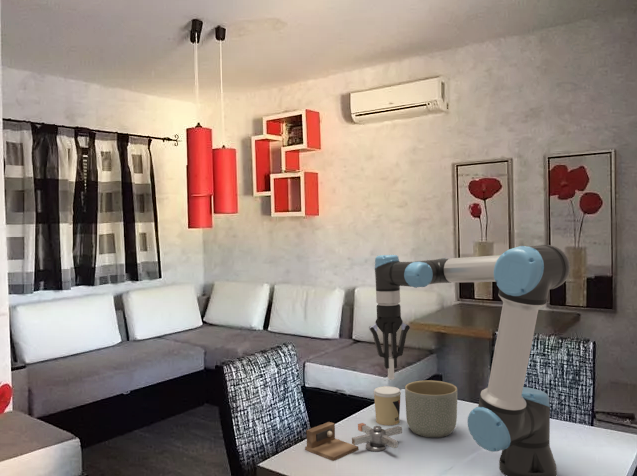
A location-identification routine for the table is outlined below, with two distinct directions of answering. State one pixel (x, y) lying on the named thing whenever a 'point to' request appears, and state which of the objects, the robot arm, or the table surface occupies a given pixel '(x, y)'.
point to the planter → (431, 408)
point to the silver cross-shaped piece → (376, 437)
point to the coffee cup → (387, 405)
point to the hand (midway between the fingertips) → (391, 378)
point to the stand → (327, 442)
